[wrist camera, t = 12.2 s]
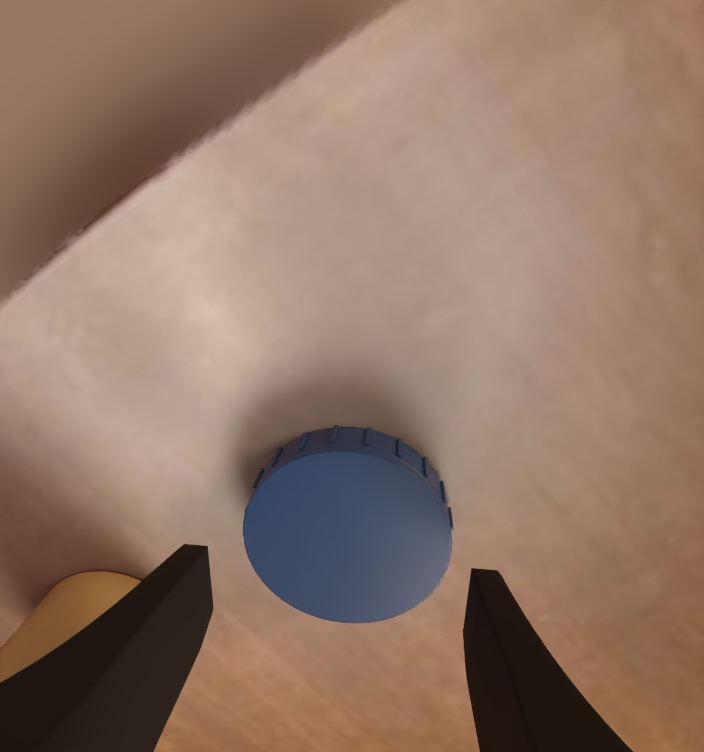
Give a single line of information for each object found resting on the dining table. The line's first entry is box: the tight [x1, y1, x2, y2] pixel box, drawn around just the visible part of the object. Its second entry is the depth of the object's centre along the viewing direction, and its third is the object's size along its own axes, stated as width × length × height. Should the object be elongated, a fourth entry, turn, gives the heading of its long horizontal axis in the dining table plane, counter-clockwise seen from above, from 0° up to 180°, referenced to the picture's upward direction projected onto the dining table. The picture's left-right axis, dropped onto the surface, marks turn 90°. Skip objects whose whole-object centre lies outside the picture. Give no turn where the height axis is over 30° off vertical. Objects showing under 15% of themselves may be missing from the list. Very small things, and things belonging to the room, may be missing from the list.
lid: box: [243, 425, 454, 623], centre depth 15 cm, size 6×6×2 cm
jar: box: [0, 571, 141, 683], centre depth 15 cm, size 6×6×8 cm
